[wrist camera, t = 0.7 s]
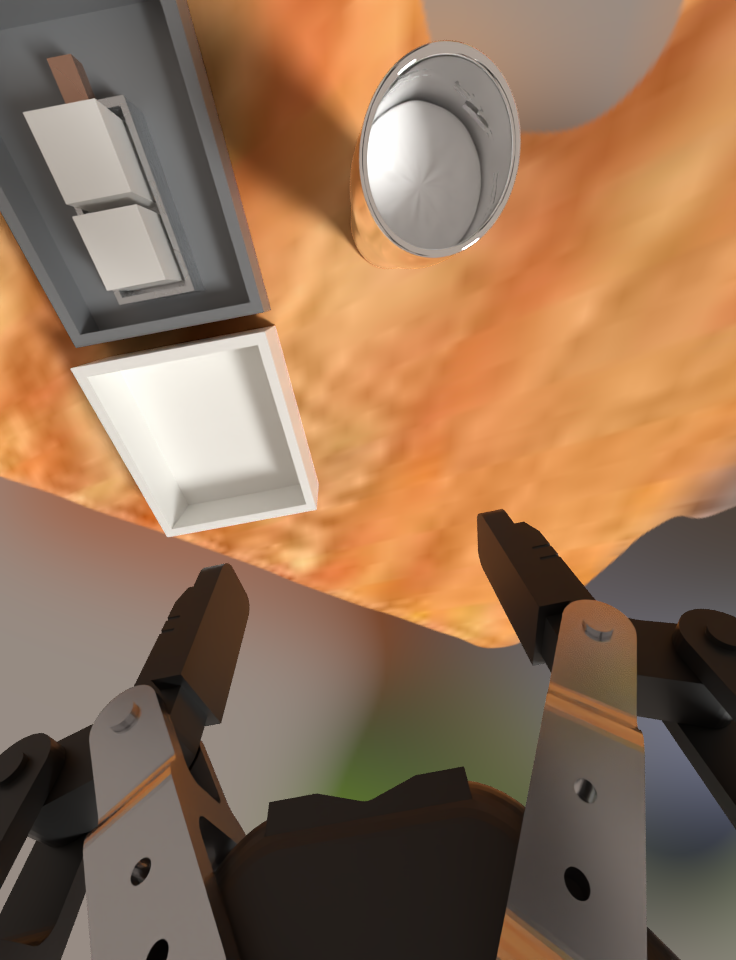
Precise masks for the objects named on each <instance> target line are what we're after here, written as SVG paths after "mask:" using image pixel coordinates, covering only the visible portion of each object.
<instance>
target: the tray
mask: <svg viewBox="0 0 736 960" xmlns="http://www.w3.org/2000/svg"><path fill="white" fill-rule="evenodd" d="M67 54H72V55H73V56H74V57H75V58H76V59H77V60H78V61H79V62H81V63H82V65H83V68H84V70H85V73H86V75H87V78H88V80H89V83H90V85H91V88H92V91H93V93H94V96H95V98H96V100H99V99H104V98H109V97H114V96H119V95H124V96H125V97H126V98H127V99H129V100H130V101H131V102H132V103H133V104H134V105H135V106H136V107H137V108H138V109H139V110H141V111H142V112H143V114H144V117H145V119H146V122H147V125H148V128H149V131H150V134H151V137H152V139H153V142H154V145H155V148H156V151H157V154H158V157H159V160H160V162H161V165H162V168H163V171H164V174H165V177H166V180H167V182H168V185H169V188H170V191H171V194H172V197H173V200H174V202H175V205H176V208H177V211H178V214H179V217H180V220H181V222H182V225H183V228H184V231H185V234H186V237H187V240H188V242H189V245H190V248H191V251H192V254H193V257H194V260H195V262H196V265H197V268H198V271H199V274H200V277H201V280H202V283H203V285H204V288H205V291H200V292H195V293H190V294H185V295H179V296H174V297H169V298H164V299H158V300H153V301H148V302H143V303H137V304H126V305H119V303H118V301H117V298H116V296H115V294H114V292H113V291H107V290H106V287H105V285H104V283H103V281H102V279H101V277H100V275H99V273H98V271H97V268H96V266H95V264H94V262H93V260H92V258H91V256H90V254H89V252H88V249H87V247H86V245H85V243H84V241H83V239H82V237H81V235H80V233H79V230H78V228H77V226H76V224H75V222H74V220H73V218H72V217H73V216H78V215H77V213H76V210H75V208H74V207H73V206H70V205H67V204H66V203H65V201H64V199H63V197H62V195H61V192H60V190H59V188H58V186H57V184H56V182H55V180H54V178H53V175H52V173H51V171H50V169H49V167H48V165H47V163H46V161H45V159H44V156H43V154H42V152H41V150H40V148H39V146H38V144H37V142H36V140H35V137H34V135H33V133H32V131H31V129H30V127H29V125H28V123H27V121H26V118H25V116H24V114H23V112H27V111H32V110H37V109H42V108H47V107H52V106H58V105H63V104H66V103H65V101H64V99H63V96H62V94H61V92H60V89H59V87H58V85H57V82H56V80H55V78H54V75H53V73H52V71H51V68H50V66H49V63H48V61H47V59H46V58H51V57H57V56H62V55H67ZM0 211H1V213H2V215H3V217H4V219H5V221H6V222H7V224H8V226H9V228H10V230H11V231H12V233H13V235H14V237H15V239H16V240H17V242H18V244H19V246H20V248H21V250H22V251H23V253H24V255H25V257H26V259H27V260H28V262H29V264H30V266H31V268H32V269H33V271H34V273H35V275H36V277H37V278H38V280H39V282H40V284H41V286H42V288H43V289H44V291H45V293H46V295H47V297H48V298H49V300H50V302H51V304H52V306H53V307H54V309H55V311H56V313H57V315H58V316H59V318H60V320H61V322H62V324H63V326H64V327H65V329H66V331H67V333H68V335H69V336H70V338H71V340H72V342H73V344H74V345H75V347H76V348H78V347H84V346H89V345H94V344H99V343H105V342H110V341H115V340H120V339H126V338H131V337H136V336H142V335H147V334H152V333H157V332H163V331H168V330H173V329H178V328H184V327H189V326H194V325H199V324H205V323H210V322H215V321H220V320H226V319H231V318H236V317H242V316H247V315H252V314H257V313H263V312H266V311H269V310H271V308H270V304H269V300H268V297H267V293H266V289H265V286H264V282H263V278H262V275H261V271H260V267H259V264H258V260H257V256H256V253H255V249H254V245H253V242H252V238H251V235H250V231H249V227H248V224H247V220H246V216H245V213H244V209H243V205H242V202H241V198H240V194H239V191H238V187H237V183H236V180H235V176H234V172H233V169H232V165H231V161H230V158H229V154H228V150H227V147H226V143H225V139H224V136H223V132H222V128H221V125H220V121H219V118H218V114H217V110H216V107H215V103H214V99H213V96H212V92H211V88H210V85H209V81H208V77H207V74H206V70H205V66H204V63H203V59H202V55H201V52H200V48H199V44H198V41H197V37H196V33H195V30H194V26H193V22H192V19H191V15H190V11H189V8H188V4H187V0H0Z"/></svg>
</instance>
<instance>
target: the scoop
mask: <svg viewBox="0 0 736 960" xmlns="http://www.w3.org/2000/svg"><path fill="white" fill-rule="evenodd" d="M46 59H47V61H48V63H49V66H50V68H51V71H52V73H53V75H54V78H55V80H56V82H57V85H58V87H59V89H60V92H61V94H62V96H63V99H64V101H65V103H66V104H68V103H73V102H78V101H83V100H88V99H93V98H95V96H94V93H93V91H92V88H91V85H90V83H89V80H88V78H87V75H86V73H85V70H84V68H83V65H82V63H81V62H79V61H78V60H77V59H76V58H75V57H74V56H73V55H72V54H67V55H62V56H57V57H51V58H46ZM95 99H96V98H95ZM97 101H99V102H100V103H101V104H103V105H104V106H105V107H106V108H108V109H109V110H110V111H111V112H113V113H114V114H115V115H116V116H118V117H119V118H120V119H121V120H123V121H124V122H125V123H126V124H127V125H128V128H129V131H130V133H131V136H132V139H133V141H134V144H135V147H136V150H137V152H138V155H139V158H140V160H141V163H142V166H143V168H144V171H145V174H146V177H147V179H148V182H149V185H150V187H151V190H152V193H153V195H154V198H155V201H156V204H157V207H152V208H147V209H149V210H151V211H153V212H156V213H158V214H160V215H161V217H162V220H163V222H164V225H165V228H166V231H167V233H168V236H169V239H170V241H171V244H172V247H173V249H174V252H175V255H176V258H177V260H178V263H179V266H180V268H181V271H182V274H183V276H184V279H185V281H184V282H179V283H174V284H169V285H163V286H158V287H153V288H148V289H143V290H137V291H113V292H114V294H115V296H116V298H117V301H118V303H119V305H126V304H137V303H143V302H148V301H153V300H158V299H164V298H169V297H174V296H179V295H185V294H190V293H195V292H200V291H205V288H204V285H203V283H202V280H201V277H200V274H199V271H198V268H197V265H196V262H195V260H194V257H193V254H192V251H191V248H190V245H189V242H188V240H187V237H186V234H185V231H184V228H183V225H182V222H181V220H180V217H179V214H178V211H177V208H176V205H175V202H174V200H173V197H172V194H171V191H170V188H169V185H168V182H167V180H166V177H165V174H164V171H163V168H162V165H161V162H160V160H159V157H158V154H157V151H156V148H155V145H154V142H153V139H152V137H151V134H150V131H149V128H148V125H147V122H146V119H145V117H144V114H143V112H142V111H141V110H139V109H138V108H137V107H136V106H135V105H134V104H133V103H132V102H131V101H130V100H129V99H127V98H126V97H125V96H124V95H119V96H114V97H109V98H104V99H99V100H97ZM74 208H75V210H76V213H77V215H83V214H88V213H92V212H89V211H86V210H83V209H79V208H76V207H74Z"/></svg>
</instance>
